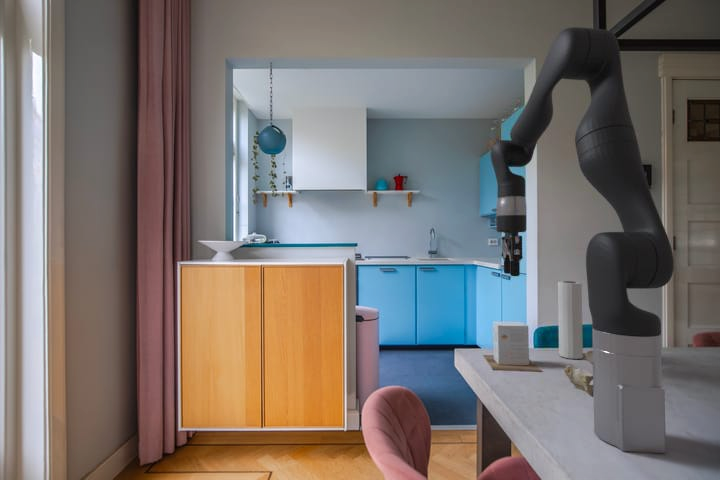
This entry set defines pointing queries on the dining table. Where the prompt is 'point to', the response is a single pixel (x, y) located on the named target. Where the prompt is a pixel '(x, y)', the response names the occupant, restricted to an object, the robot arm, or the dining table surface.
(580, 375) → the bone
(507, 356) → the small box
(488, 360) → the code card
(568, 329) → the paper towel roll
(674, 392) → the dining table surface
